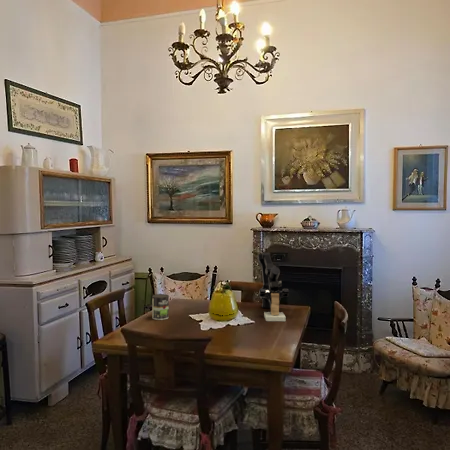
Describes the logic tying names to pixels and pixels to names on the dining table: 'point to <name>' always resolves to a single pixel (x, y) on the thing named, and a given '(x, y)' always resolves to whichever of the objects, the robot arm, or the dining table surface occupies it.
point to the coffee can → (160, 306)
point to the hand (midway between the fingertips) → (275, 304)
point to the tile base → (274, 317)
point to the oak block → (275, 304)
